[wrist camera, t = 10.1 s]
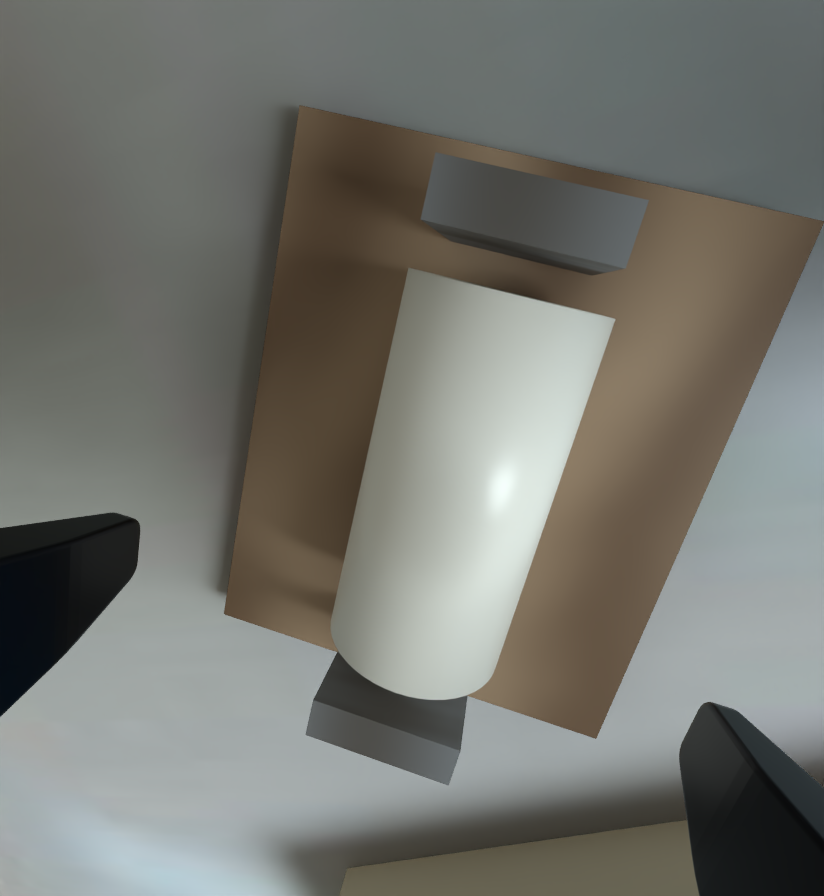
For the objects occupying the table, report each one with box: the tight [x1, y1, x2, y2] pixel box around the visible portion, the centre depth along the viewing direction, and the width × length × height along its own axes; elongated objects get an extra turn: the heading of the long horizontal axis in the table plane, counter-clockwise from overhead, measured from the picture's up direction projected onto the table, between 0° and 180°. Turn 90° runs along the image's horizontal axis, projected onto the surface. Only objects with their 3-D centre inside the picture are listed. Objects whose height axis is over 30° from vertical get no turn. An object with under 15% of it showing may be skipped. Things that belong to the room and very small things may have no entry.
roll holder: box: [224, 105, 824, 785], centre depth 15 cm, size 14×17×6 cm
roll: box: [331, 268, 615, 700], centre depth 15 cm, size 5×10×5 cm, turn 167°
